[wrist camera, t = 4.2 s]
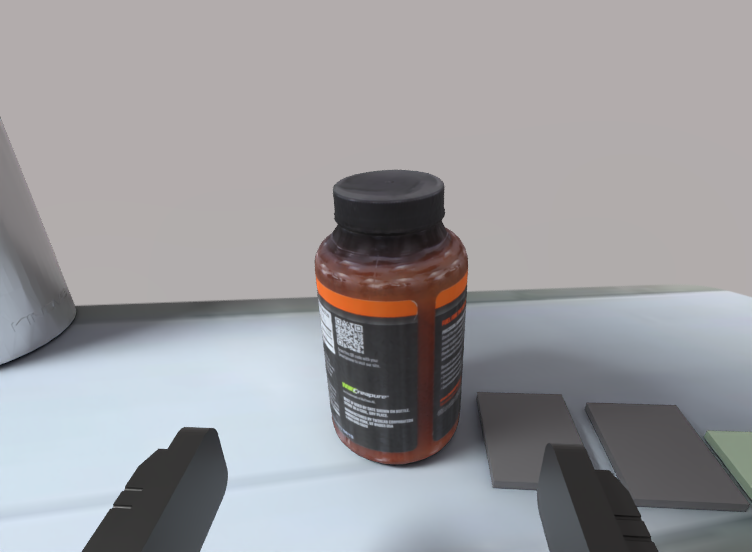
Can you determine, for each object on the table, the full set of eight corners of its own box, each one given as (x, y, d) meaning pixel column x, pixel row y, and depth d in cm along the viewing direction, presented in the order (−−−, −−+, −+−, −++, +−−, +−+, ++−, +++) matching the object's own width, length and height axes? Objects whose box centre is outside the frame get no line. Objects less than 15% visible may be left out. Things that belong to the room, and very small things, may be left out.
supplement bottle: (452, 377, 23) (465, 161, 18) (467, 473, 18) (491, 206, 13) (339, 376, 23) (321, 163, 18) (321, 471, 18) (288, 208, 13)
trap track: (502, 537, 15) (503, 530, 15) (476, 398, 22) (477, 392, 21) (992, 565, 14) (1000, 558, 14) (815, 408, 20) (818, 402, 20)
